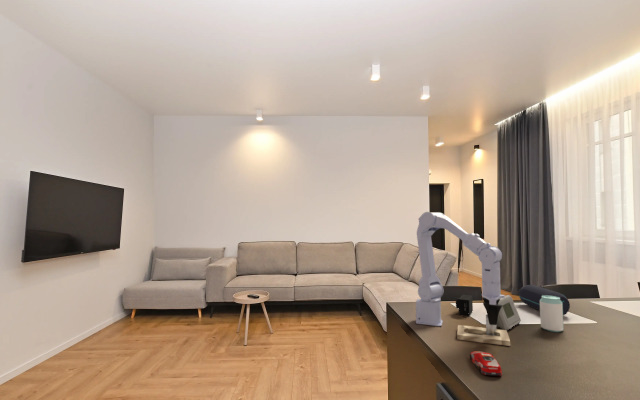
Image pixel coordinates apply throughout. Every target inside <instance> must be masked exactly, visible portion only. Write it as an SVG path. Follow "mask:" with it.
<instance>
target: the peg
mask: <svg viewBox="0 0 640 400" xmlns="http://www.w3.org/2000/svg"><path fill="white" fill-rule="evenodd" d="M485 328H486V335H492V336H497V331H496V329H497V327H496V325H491V324H489V321H488V315H487V314H485Z"/></svg>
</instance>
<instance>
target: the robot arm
mask: <svg viewBox="0 0 640 400" xmlns="http://www.w3.org/2000/svg"><path fill="white" fill-rule="evenodd" d="M439 229H444V230H447V232H449V233H451V234H452V235H453V236H455V237H457V238H458V239H460V240H461V242H462V245H463V247H465V248H466V249H467V250H469V251H470V252H471V253H473V254H474V255H475V256H477V258H478V259H479V262H481V284H482V285H481V286H482V287H481V288H482V289H481V292H482V293H481V296H482V298H481V299H482V300H483V302H482V305H483V306H484V309H485V310H486V315H488V321H489V324H491V325H496V324H497V320H498V314H499V311H500V309H501V308H502V305H499V304H498V303H499V301H500V298H505V296H506V295H505V294H501V291H502V290H501V267H500V266H501V264H500V263H501V262H500V261H502V258H503V253H502V251H501V250H500V248H499V247H498V246H496V245H495V246H494V245H492V244H491V243H490V242H487V241H485V240H484V239H482V238H481V237H480V234H478V233H474V232H471V233H468V232H467V231H466V230H464V229H463V228H462V227H461V226H460V225H459V224H457V223H456V222H455V221H453V219H451V218H450V217H449V216H448V215H445V214H444V213H442V212H440V211H438V212H437V211H436V212H430V211H426V212H423V213H422V214H421V215H420V217H418V226H417V230H416V239H417V247H418V254H419V255H418V256H419V262H420V269H421V271H420V272H421V277H420V279H419V280H418V288H417V295H418V296H419V298H420V299H419V298H417V299H416V300H415V323H416V324H417V325H426V326H433V327H434V326H435V327H442V325H443V319H442V309H441V301H442V300H441V298H442V297H443V295H444V287H443V285H442V282H441V279H440V278H439V277H438V275H437V271H436V270H437V269H436V264H435V255H434V248H433V242H432V236H433V234H434V233H435V232H436V231H437V230H439Z"/></svg>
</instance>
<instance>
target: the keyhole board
mask: <svg viewBox="0 0 640 400" xmlns="http://www.w3.org/2000/svg"><path fill="white" fill-rule="evenodd" d="M496 331H497V336H492V335H486V327H481V326H479V327H478V326H472V325H471V326H470V325H463V324H462V325H461V324H457V333H456V339H457V340H460V341H469V342H477V343H485V344H493V345H499V346H508V347H511V340H510V336H509V333H508V330H503V329H498V328H496Z"/></svg>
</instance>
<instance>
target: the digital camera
mask: <svg viewBox="0 0 640 400" xmlns="http://www.w3.org/2000/svg"><path fill="white" fill-rule="evenodd" d="M473 305H474V304H473V295H468V294H461V296H460V297H456V298H455V307H456V309H458V315H459V316H461V315H463V316H462V317H469V316H471V315H472V313H473V312H472V311H474V310H473V307H474V306H473Z"/></svg>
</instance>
